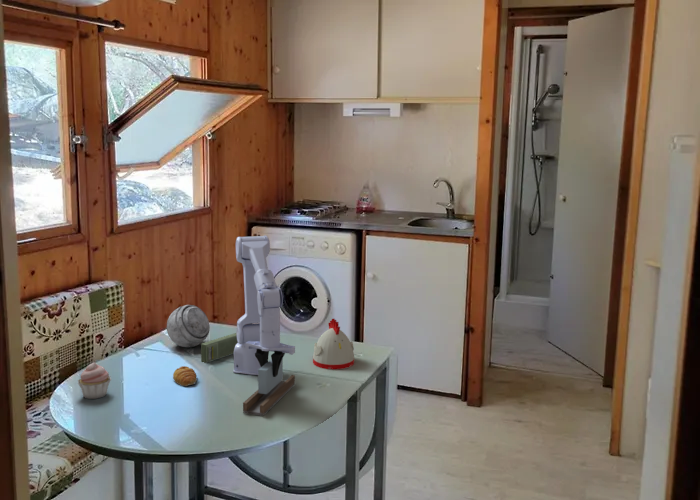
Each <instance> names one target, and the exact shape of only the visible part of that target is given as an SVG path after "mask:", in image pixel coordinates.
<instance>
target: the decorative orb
mask: <svg viewBox="0 0 700 500" xmlns="http://www.w3.org/2000/svg"><path fill="white" fill-rule="evenodd" d="M210 325H211V324H210V322H209V319H208V316H207V315H206V313H205V312H204V311H203V310H202V309H201V308H200V307H198V306H196V305H193V304H185V305H182V306H179V307H178V308H176V309H174V310H173V311H172V312H171V314H170V315H169V316H168V319H167V322H166V331H167V335H168V337H169V339H170V340H171V341H172V342H173V344H175V345H177V346H179V347H182V348H193V347H197V346H199V345H201V344H202V343H204V341H205V340H206V339H207V338H208V336H209V334H210V331H211V326H210Z"/></svg>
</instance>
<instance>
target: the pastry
mask: <svg viewBox="0 0 700 500" xmlns="http://www.w3.org/2000/svg"><path fill="white" fill-rule="evenodd" d="M197 376H198V375H197V373H196V372H195V369H193V368H191V367H189V366H185V365H183V366H182V365H181V366H179V368H176V369H175V370H174V372H173V374H172V379H173V381H174V383H176V384H178V385H180V386H184V387H187V386H191V385H195V384H196V382H197Z"/></svg>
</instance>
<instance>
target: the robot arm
mask: <svg viewBox="0 0 700 500" xmlns="http://www.w3.org/2000/svg"><path fill="white" fill-rule="evenodd" d="M270 241H271V240H270V238H269V236H267V235H256V236H253V235H252V236H237V237H236V240H235V257H236V262H238V263H241V264H242V270H243V288H244V291H243V293H244V312H245V313H244V314H243V315H242V316H240V318H238V319H237V322H236V332H235V333H237V341H238V343H237V344H236V346H235V348H234V353H233V370H232V372H233V373H234V374H235V373H237V374H245V375H252V376H258V369H260V368H261V367H262V366H263V365H264V364H266V363H267V362H268V361H269V355H270V360H271V359H272V365H273V377H276V376H277V375H278V370H279V366H280V363H281V361H282V359H284V356H285V354H289V355H294V354H295V353H296V346H294V345H291V344H285V343H282V342H281V308H283V302H284V301H283V300H284V299H283V292H282V288H281V287H279V285H277V283H276V279H275V276H274V273H273V271H272V270H271V269H269V268H268V262H267V257H268V256H269V254H270V251H271V250H270V249H271V244H270ZM270 352H273V353H272V354H269V353H270Z"/></svg>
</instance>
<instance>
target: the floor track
mask: <svg viewBox="0 0 700 500" xmlns="http://www.w3.org/2000/svg"><path fill="white" fill-rule="evenodd" d="M294 386H296V375H294V374H291V375H290V376H288V378H287V379H286V380H282V381H281V382H279V383H278V384H277V385H276V386H275V387H274V388H273V389H272V390H271V391H270V392H269V393H267V394H260V393H258V389H257V390H256V391H255V392H254V393H252V395H250V396H249V397H248V398H247V399H245V401H243V402H242V411H243V412H242V413H243V414H245V415H246V414H248V415H253V416H254V415H255V416H260V417H264V416H265V415H266V414H267V413H268V412H269V411H270V410H271V409H272V408H273V407H274V406H275V405H276V404H277V403H278V402H279V401H280V400H281V399H283V397H284V396H285V395H286V394H287V393H288V392H289V391H291V389H292V388H293V387H294Z"/></svg>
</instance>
